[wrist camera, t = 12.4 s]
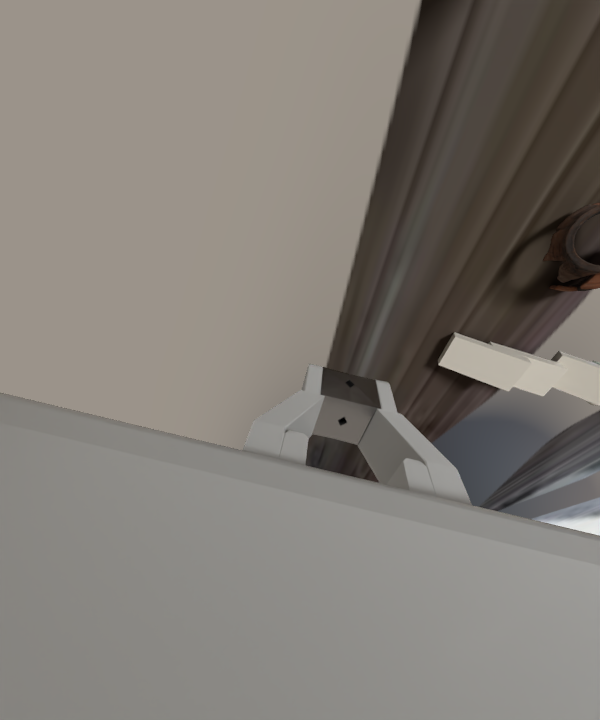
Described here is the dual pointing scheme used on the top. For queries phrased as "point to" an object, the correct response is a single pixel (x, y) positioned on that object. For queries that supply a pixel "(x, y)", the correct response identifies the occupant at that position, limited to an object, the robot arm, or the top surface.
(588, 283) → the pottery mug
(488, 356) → the domino
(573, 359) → the domino
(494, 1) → the top surface
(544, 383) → the domino
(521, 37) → the top surface
